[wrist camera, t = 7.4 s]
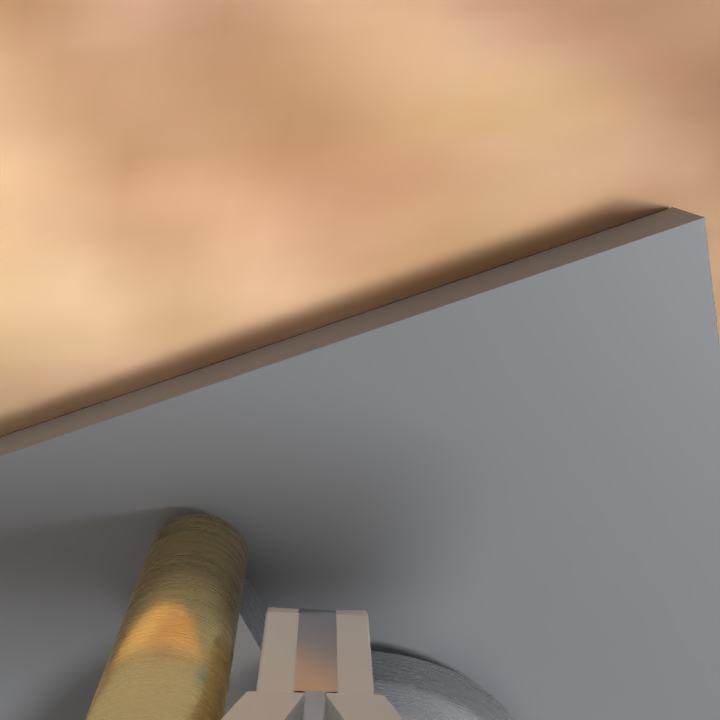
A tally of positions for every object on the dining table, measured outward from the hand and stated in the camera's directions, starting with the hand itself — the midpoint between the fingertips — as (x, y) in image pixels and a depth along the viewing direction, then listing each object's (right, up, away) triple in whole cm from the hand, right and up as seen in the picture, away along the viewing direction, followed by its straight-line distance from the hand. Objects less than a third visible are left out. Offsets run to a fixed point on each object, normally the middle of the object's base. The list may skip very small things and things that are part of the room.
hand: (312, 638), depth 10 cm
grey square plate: (0, -5, +6) cm, 8 cm away
